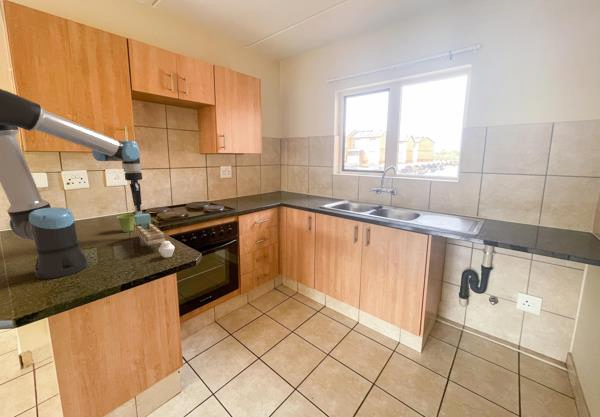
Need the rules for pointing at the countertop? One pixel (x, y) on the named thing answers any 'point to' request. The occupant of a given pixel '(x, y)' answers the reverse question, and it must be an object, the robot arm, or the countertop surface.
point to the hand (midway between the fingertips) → (139, 217)
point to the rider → (142, 220)
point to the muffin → (166, 249)
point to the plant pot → (126, 222)
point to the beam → (149, 235)
